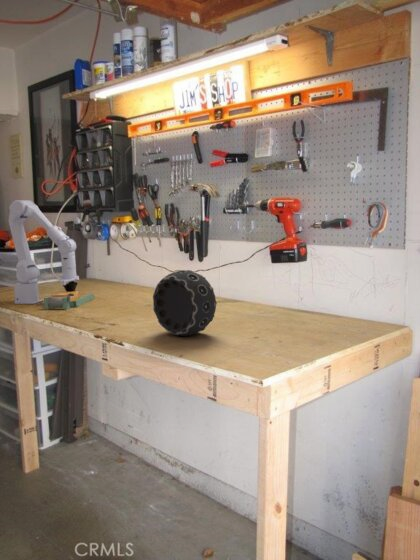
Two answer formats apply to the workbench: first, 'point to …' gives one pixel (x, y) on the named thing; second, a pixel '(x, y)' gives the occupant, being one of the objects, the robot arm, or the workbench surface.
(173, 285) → the dark studded ball
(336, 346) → the workbench surface
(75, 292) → the orange square block
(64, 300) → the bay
